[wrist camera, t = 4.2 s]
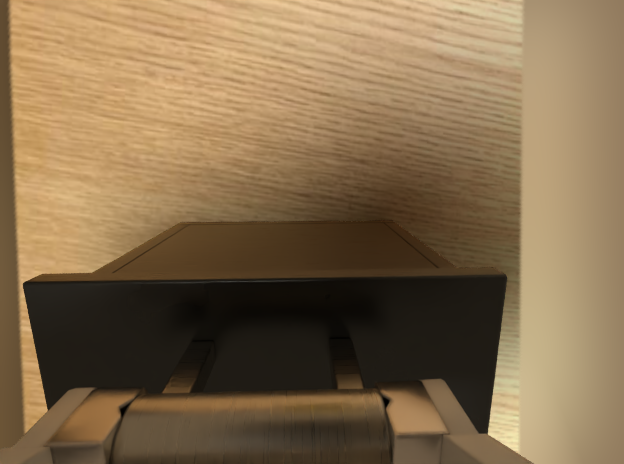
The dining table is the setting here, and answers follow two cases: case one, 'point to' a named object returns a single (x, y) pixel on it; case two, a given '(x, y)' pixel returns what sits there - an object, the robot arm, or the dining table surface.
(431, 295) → the bin lid
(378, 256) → the trash can
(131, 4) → the dining table surface
